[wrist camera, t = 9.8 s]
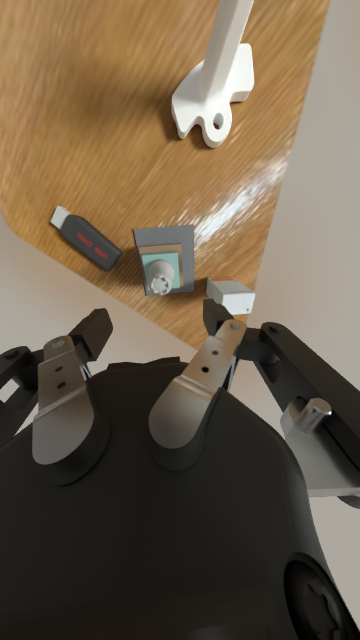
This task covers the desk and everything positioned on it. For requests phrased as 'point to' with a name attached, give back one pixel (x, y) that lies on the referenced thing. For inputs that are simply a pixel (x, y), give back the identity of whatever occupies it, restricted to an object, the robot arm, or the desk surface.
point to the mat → (168, 237)
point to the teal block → (166, 255)
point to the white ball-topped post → (217, 77)
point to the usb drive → (86, 238)
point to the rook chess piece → (161, 277)
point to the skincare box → (230, 294)
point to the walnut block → (160, 249)
